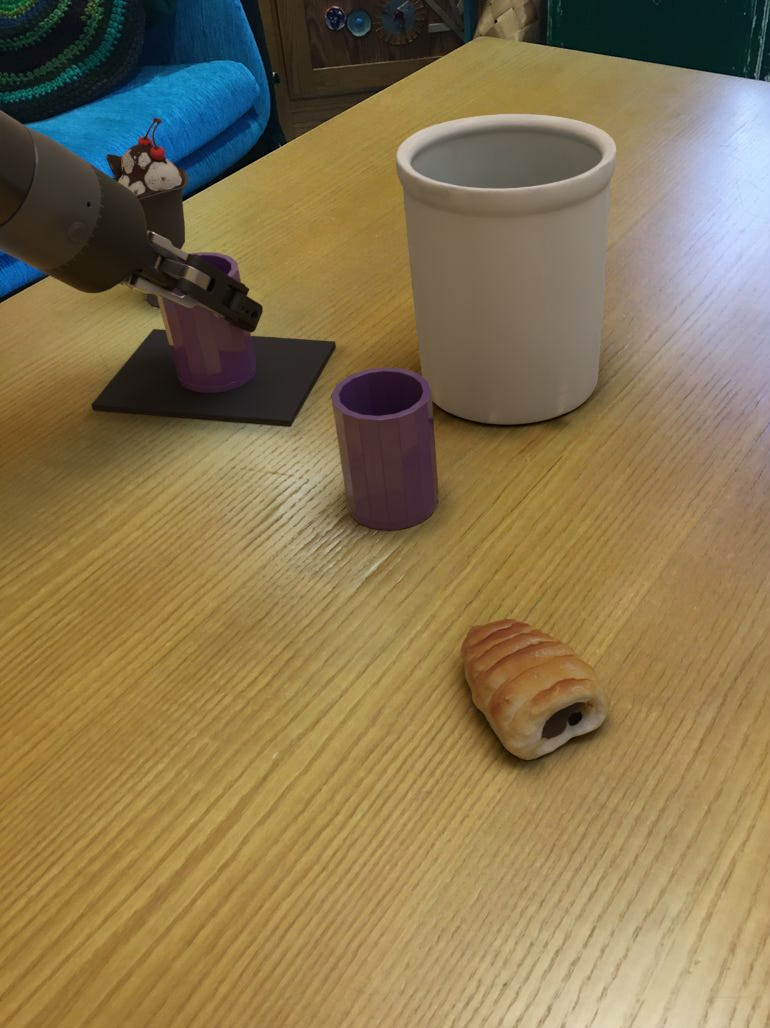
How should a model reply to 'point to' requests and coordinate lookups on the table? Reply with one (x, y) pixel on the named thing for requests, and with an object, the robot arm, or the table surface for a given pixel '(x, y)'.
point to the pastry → (531, 687)
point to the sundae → (154, 188)
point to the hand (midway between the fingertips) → (218, 306)
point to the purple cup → (208, 341)
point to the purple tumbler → (386, 447)
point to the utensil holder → (508, 261)
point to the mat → (262, 400)
